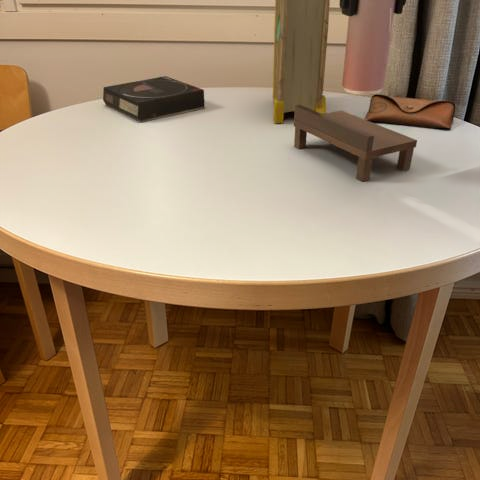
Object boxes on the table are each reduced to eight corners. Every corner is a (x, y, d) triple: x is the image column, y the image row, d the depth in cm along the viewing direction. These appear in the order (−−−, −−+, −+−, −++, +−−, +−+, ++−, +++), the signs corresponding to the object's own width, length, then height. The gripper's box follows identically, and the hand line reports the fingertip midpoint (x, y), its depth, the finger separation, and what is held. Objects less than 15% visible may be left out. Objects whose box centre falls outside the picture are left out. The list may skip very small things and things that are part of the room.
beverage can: (345, 84, 80) (357, -35, 71) (385, 87, 79) (403, -34, 70) (337, 94, 76) (349, -31, 67) (379, 97, 74) (397, -31, 65)
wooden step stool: (338, 136, 104) (342, 97, 100) (411, 169, 91) (420, 125, 86) (292, 146, 100) (294, 105, 96) (362, 182, 86) (368, 136, 82)
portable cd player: (103, 105, 123) (101, 87, 120) (167, 93, 131) (165, 76, 128) (138, 123, 112) (135, 103, 110) (204, 108, 120) (203, 89, 118)
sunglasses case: (362, 120, 111) (369, 87, 110) (364, 128, 118) (370, 97, 117) (452, 128, 106) (460, 94, 105) (449, 137, 113) (456, 105, 112)
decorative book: (271, 98, 126) (275, -56, 108) (317, 99, 126) (329, -56, 107) (272, 125, 110) (277, -50, 92) (325, 125, 110) (341, -51, 92)
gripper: (331, -172, 56) (318, 21, 67) (479, -171, 59) (444, 15, 70) (310, -163, 62) (302, 13, 73) (445, -162, 65) (418, 7, 76)
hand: (371, 12), depth 71 cm, fingers closed on beverage can, 6 cm apart
